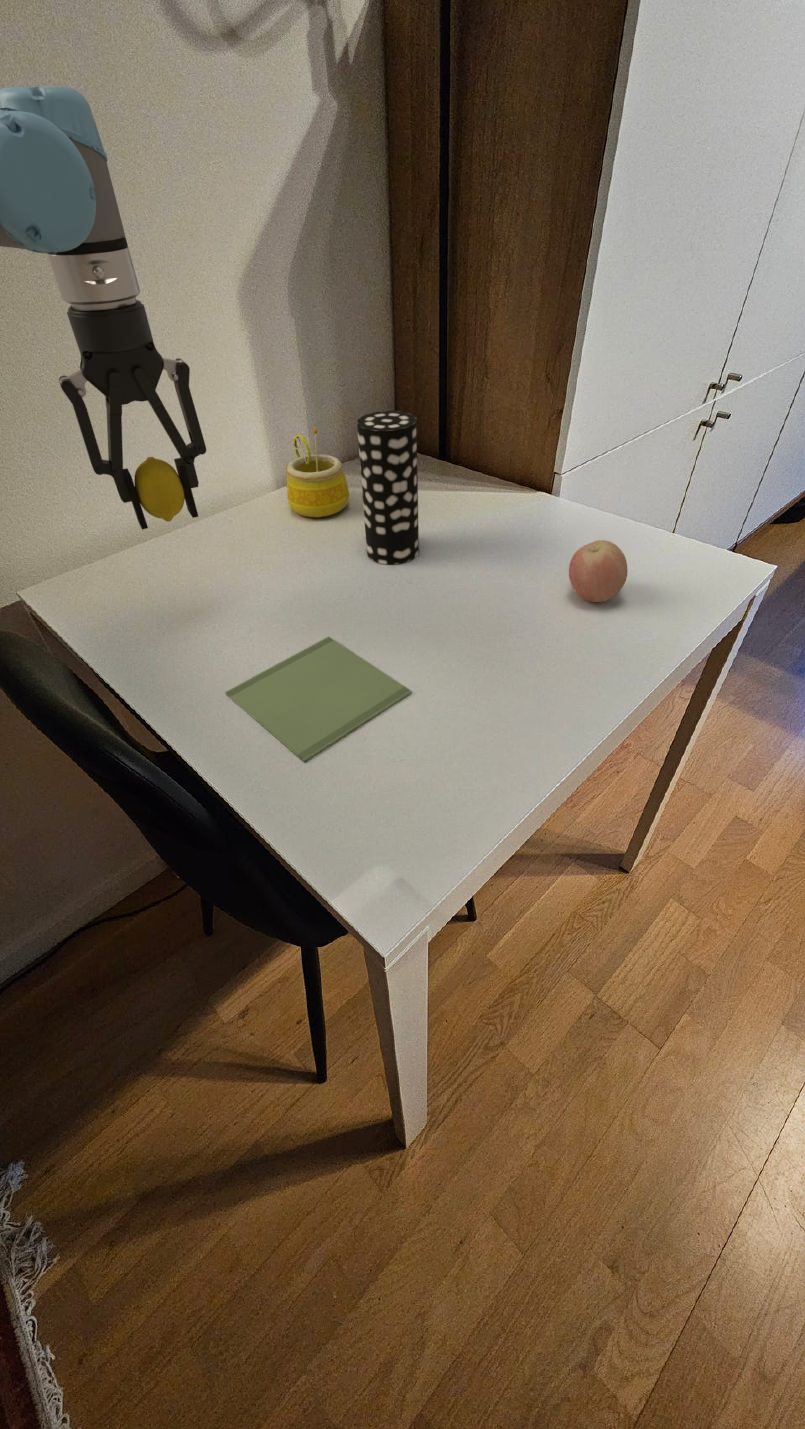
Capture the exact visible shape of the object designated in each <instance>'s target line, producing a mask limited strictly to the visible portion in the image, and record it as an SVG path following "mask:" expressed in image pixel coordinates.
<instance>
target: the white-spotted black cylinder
mask: <svg viewBox="0 0 805 1429" xmlns="http://www.w3.org/2000/svg"><path fill="white" fill-rule="evenodd" d="M356 428H357V439H358V440H357V442H358V452H359V453H358V454H359V467H360V481H361V492H362V505H363V518H364V531H365V532H364V533H365V544H366V555H367V557H368V558H369V559H370V560H371V561H373V562H375V563H378V564H381V565H400V564H405V563H408V562H410V561H412V560H414V559H415V558H417V556H418V555H419V552H420V540H419V539H420V538H419V536H420V535H419V482H418V480H419V478H418V477H419V475H418V474H419V473H418V471H419V470H418V418H417V417H416V416H415V415H413V414H412V413H409V412H405V411H399V410H397V411H396V410H380V411H374V412H370V413H367V414H364V415H362V416H360V417H359V418H358V419H357V420H356Z"/></svg>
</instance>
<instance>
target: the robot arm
mask: <svg viewBox="0 0 805 1429" xmlns="http://www.w3.org/2000/svg"><path fill="white" fill-rule="evenodd" d="M119 209H120V208H119V205H118V202H117V197H116V193H115V189H114V186H113V182H112V178H111V174H110V170H109V166H108V156H107V153H106V152H105V148H104V145H103V143H102V139H101V136H100V133H99V130H98V126H97V123H96V121H95V118H94V115H93V112H92V109H91V105H90V104H89V102H88V100H87V98H86V97H85V96H84V94H82V93H81V91H78V90H77V89H75V88H73V87H67V86H51V85H50V86H15V87H13V86H11V87H4V88H1V89H0V247H4V248H11V249H12V248H13V249H21V250H27V251H29V252H32V253H38V254H46V255H47V258H48V261H49V264H50V267H51V270H52V273H53V276H54V279H55V282H56V285H57V288H58V291H59V293H60V297H61V300H62V301H64V302H65V303H67V304H69V305H70V306H69V307H68V308H67V312H66V315H67V318H68V321H69V324H70V327H71V330H72V333H73V336H74V339H75V342H76V345H77V348H78V352H79V354H80V364H79V370H76V371H75V372H73V373H71V374H69V375H68V376H67V375H64V374H63V375H61V376H59V378H58V383H59V386H60V389H61V391H62V392H63V393H64V394H65V396H66V398H67V399H68V400H69V401H70V403H71V405H72V407H73V411H74V415H75V417H76V420H77V423H78V427H79V430H80V434H81V437H82V440H83V442H84V446H85V449H86V453H87V456H88V459H89V461H90V464H91V467H92V470H93V472H94V473H95V474H96V475H98V476H102V475H108V476H110V477H111V478H113V481H114V484H115V487H116V490H117V493H118V496H119V498H120V500H121V501H122V502H123V504H127V503H131V504H132V507H133V510H134V513H135V516H136V519H137V522H138V524H139V527H140V529H141V530H146V529H149V526H148V523H147V520H146V517H145V514H144V511H143V507H142V505H141V504H140V501H139V498H138V495H137V492H136V489H135V483H134V480H133V477H132V474H131V473H130V470H129V469H128V468H124V455H123V454H124V452H123V426H122V425H123V418H122V416H123V406H124V405H128V404H129V405H130V404H131V403H133V402H141V403H143V402H148V404H149V405H150V407H151V409H152V411H153V413H154V414H155V416H156V417H157V419H158V421H159V422H160V425H161V426H162V428H163V429H164V431H165V433H166V435H167V437H168V438H169V439H170V441H171V444H172V445H173V446H174V448H175V450H176V452H177V454H178V455H179V457H177V458H173V461H174V464H175V470H176V472H177V474H178V476H179V478H180V480H181V482H182V485H183V488H184V494H185V500H184V503H185V505H186V509H187V511H188V513H189V514H190V516H191V518H192V519H194V518H195V519H196V518H199V513H198V509H197V506H196V502H195V497H194V494H193V490H192V489H195V488H199V484H200V483H199V479H198V475H197V470H196V466H195V459H196V458H197V457H198V456H200V455H205V454H206V453H207V445H206V442H205V439H204V435H203V432H202V428H201V425H200V421H199V417H198V413H197V410H196V407H195V403H194V399H193V396H192V392H191V388H190V375H191V374H190V372H191V369H190V365H188V364H187V363H186V361H184V360H183V359H182V358H180V357H179V358H175V359H171V358H166V357H163V356H162V355H161V353H160V352H159V351H158V349H157V347H156V345H155V343H154V338H153V335H152V330H151V327H150V323H149V319H148V314H147V312H146V306H145V305H144V303H142V301H140V300H139V299H137V297H139V295H140V293H141V289H140V286H139V281H138V278H137V274H136V271H135V270H136V269H135V266H134V264H133V260H132V256H131V252H130V248H129V246H128V242H127V241H128V240H127V238H126V233H125V229H124V225H123V221H122V217H121V213H120V210H119ZM163 371H166V373H167V377H168V379H169V380H170V381H171V382H173V385H174V389H175V393H176V396H177V399H178V403H179V407H180V411H181V413H182V416H183V421H184V424H185V426H186V431H187V433H188V436H189V440H190V442H189V443H186V442H185V440H184V439H183V437H182V434H181V433H180V431H179V429H178V428H177V426H176V425H175V423H174V421H173V419H172V417H171V415H170V414H169V412H168V410H167V409H166V407H165V404H164V403H163V400H162V399H161V397H160V396H159V394H158V393H157V388H158V385H159V382H160V380H161V376H162V374H163ZM87 382H88V383H89V384H91V385H92V386H93V387H94V388H95V389H96V390H98V391H99V392H100V393H101V394H102V395H103V396H104V399H105V400H104V401H105V408H106V429H107V454H108V455H107V457H108V458H107V459H108V460H107V459H103V458H102V454H101V450H100V448H99V444H98V441H97V438H96V435H95V432H94V428H93V425H92V421H91V418H90V415H89V412H88V408H87V405H86V403H85V401H84V397H85V396H86V395H87V389H86V386H85V385H86V383H87Z"/></svg>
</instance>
